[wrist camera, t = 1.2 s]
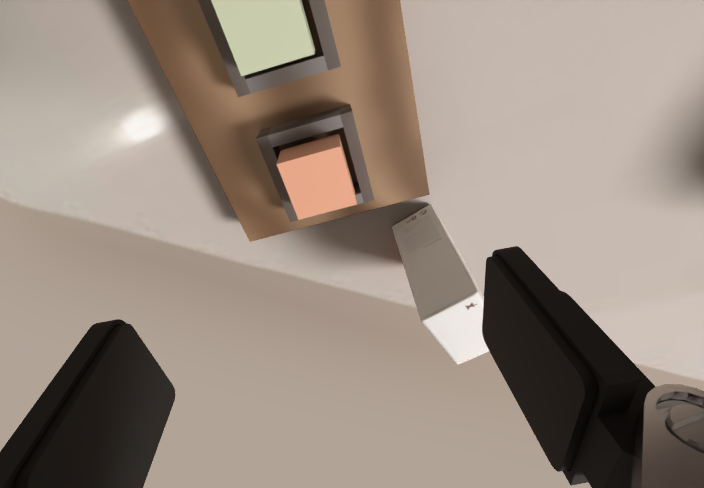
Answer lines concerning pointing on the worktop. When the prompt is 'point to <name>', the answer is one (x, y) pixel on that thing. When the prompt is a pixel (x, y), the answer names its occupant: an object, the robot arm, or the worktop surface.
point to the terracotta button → (317, 177)
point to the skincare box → (441, 285)
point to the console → (296, 104)
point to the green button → (264, 32)
